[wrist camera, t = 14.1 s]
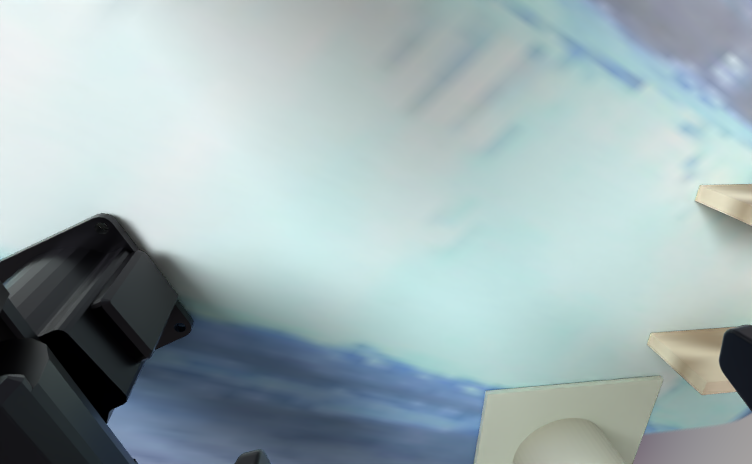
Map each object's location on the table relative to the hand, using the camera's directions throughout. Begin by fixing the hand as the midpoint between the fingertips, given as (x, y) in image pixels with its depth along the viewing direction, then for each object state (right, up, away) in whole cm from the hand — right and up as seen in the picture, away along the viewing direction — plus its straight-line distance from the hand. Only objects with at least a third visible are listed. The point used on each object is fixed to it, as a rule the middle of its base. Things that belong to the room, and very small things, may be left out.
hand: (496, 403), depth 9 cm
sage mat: (+9, -11, +20) cm, 25 cm away
